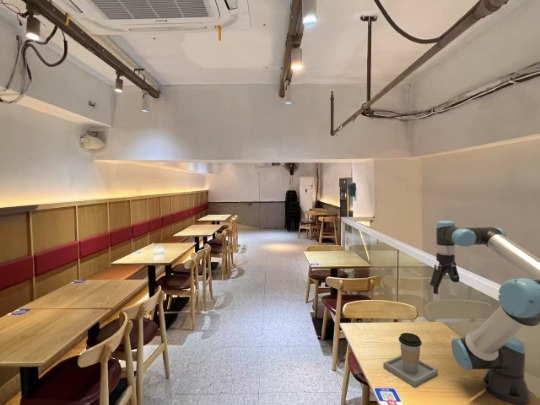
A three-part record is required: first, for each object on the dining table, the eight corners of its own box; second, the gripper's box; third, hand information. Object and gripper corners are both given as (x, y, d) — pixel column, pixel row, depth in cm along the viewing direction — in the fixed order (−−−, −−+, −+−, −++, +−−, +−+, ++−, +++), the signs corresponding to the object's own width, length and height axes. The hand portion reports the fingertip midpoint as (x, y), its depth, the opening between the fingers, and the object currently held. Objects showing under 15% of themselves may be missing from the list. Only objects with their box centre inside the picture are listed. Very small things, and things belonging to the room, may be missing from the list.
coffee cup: (424, 376, 129) (424, 343, 129) (401, 374, 131) (401, 341, 131) (418, 364, 138) (418, 332, 138) (396, 362, 140) (396, 331, 140)
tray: (437, 375, 132) (437, 369, 132) (415, 387, 124) (415, 381, 124) (405, 357, 146) (405, 352, 146) (383, 367, 138) (383, 362, 138)
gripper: (452, 249, 150) (451, 290, 151) (421, 255, 138) (421, 300, 139) (468, 251, 144) (467, 294, 145) (437, 258, 131) (437, 305, 132)
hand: (445, 297), depth 142 cm, fingers open, 13 cm apart
